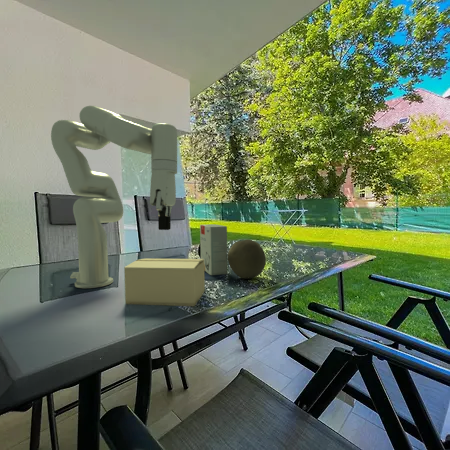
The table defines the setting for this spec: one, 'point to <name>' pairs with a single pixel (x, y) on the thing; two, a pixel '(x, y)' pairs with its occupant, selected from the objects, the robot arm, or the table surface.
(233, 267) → the cantaloupe
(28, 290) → the table surface
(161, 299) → the cardboard box
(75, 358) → the table surface
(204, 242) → the hard drive box
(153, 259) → the back flap
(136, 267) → the front flap
